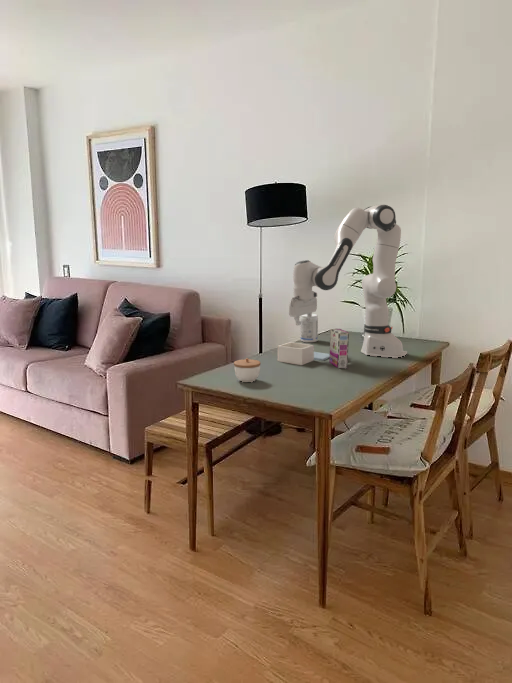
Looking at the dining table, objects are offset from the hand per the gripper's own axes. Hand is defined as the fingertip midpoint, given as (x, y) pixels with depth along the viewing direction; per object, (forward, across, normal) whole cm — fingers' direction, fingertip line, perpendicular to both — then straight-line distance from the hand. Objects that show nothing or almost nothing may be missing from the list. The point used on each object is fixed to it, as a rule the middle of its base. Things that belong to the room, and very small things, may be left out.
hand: (303, 323), depth 256 cm
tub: (+16, -14, -4) cm, 21 cm away
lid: (+16, -1, -5) cm, 17 cm away
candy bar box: (+17, -9, -23) cm, 30 cm away
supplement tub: (+17, +33, +17) cm, 41 cm away
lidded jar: (+15, -52, -4) cm, 54 cm away
